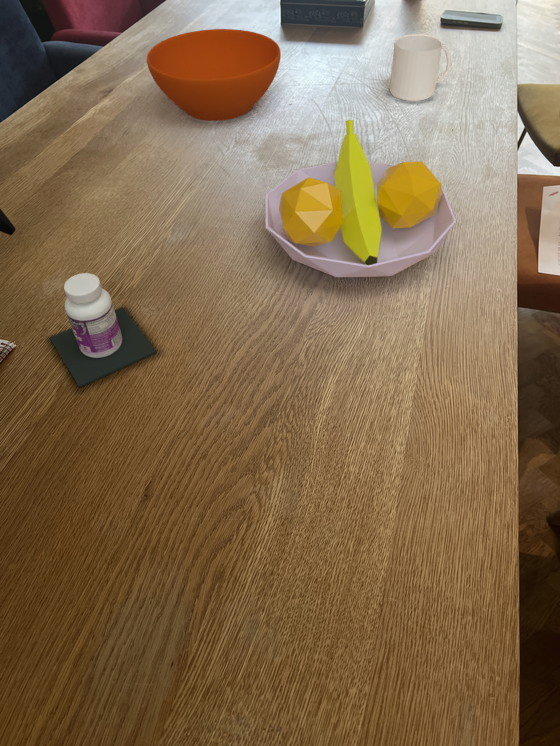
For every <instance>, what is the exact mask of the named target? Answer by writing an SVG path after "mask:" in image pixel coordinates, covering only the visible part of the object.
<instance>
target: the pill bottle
mask: <svg viewBox="0 0 560 746" xmlns="http://www.w3.org/2000/svg"><path fill="white" fill-rule="evenodd" d="M63 289H64V293H65V296H66V299H65V301H64V310H65V313H66V316H67V319H68V321H69V325H70V327H71V328H72V330H73V332H74V335H75V338H76V340H77V343H78V345H79V348H80V350H81V352H82V353H83V354H85V355H86V356H89V357H93V358H101V357H106V356H109V355H111V354H113V353H114V352H115V351H117V350H118V348H119V347H120V346H121V343H122V335H121V331H120V327H119V324H118V321H117V317H116V314H115V310H116V309H115V307H114V303H113V300H112V297H111V295H110V293H109V292H108V291H107V290H106V289H105V288H103V287H102V284H101V281H100V278H99V277H98V276H97V275H95V274H93V273H88V272H82V273H77V274H74V275H72V276H71V277H69V278H68V279H67V280H66V281H65V282H64V284H63Z"/></svg>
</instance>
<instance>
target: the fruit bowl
mask: <svg viewBox="0 0 560 746" xmlns="http://www.w3.org/2000/svg"><path fill="white" fill-rule="evenodd" d="M345 130H346V134H345V135H344V136H343V140H342V144H341V147H340V151H339V155H338V159H337V161H332V162H328V163H322V164H317V165H313V166H308V167H302V168H298V169H296V170H295V171H294V172H292V173H291V174H290V175H289V176H287V177H286V178H284V179H283V180H281V182H279V183H278V184H277V185H275V186H274V187H273V188H272V189H270V190H269V191H267V192H266V193H265V194H264V195H265V197H264V198H265V229H266V230H267V231H268V232H269V234H270V235H271V236H272V237H273V238H274V240H276V242H277V244H279V245H280V246H281V248H282V249H283V250H284V251H285V253H286V254H287V255H288V257H290V259H291V260H292V261H294V262H297V263H299V264H302V265H305V266H306V267H309V268H311V269H313V270H316V271H319V272H322V273H325V274H327V275H329V276H331V277H334V278H366V277H367V278H371V277H373V278H374V277H392V276H394V275H396V274H398V273H400V272H402V271H404V270H406V269H408V268H409V267H412V266H414V265H415V264H418V263H419V262H421V261H424V260H425V259H427V258H429V257H430V256H433V255H434V254H435V253H437V250H438V249H439V248H440V246H441V244H442V243H443V241H444V240H445V239H446V237H447V236H448V234H450V231H451V230H452V228H454V226H455V224H456V223H457V219H456V217H455V214H454V211H453V209H452V206H451V204H450V201H449V199H448V195H447V193H446V190H445V188H444V187H442V184H441V182H440V181H439V180H438V178H437V177H436V176H435V175H434V173H433V172H432V171H431V170H430V169H429V168H428V166H427V165H426V163H424V161H403V162H400V163H398V164H397V163H396V164H391V163H381V162H374V161H369V160H368V158H367V156H366V154H365V151H364V149H363V147H362V144H361V142H360V140H359V138H358V136H357V133H355V131H354V119H347V120H345Z"/></svg>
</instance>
